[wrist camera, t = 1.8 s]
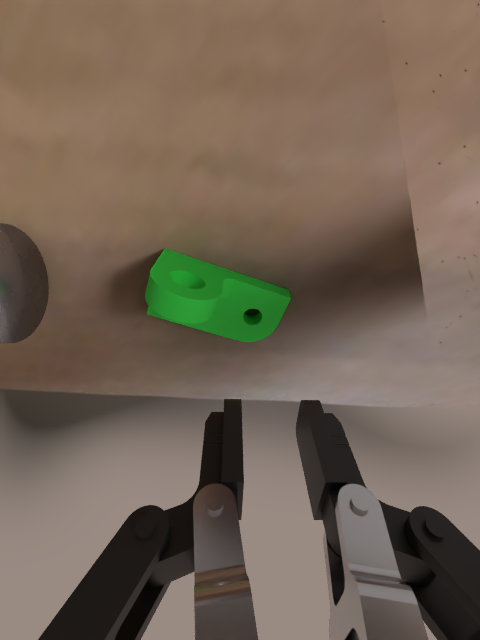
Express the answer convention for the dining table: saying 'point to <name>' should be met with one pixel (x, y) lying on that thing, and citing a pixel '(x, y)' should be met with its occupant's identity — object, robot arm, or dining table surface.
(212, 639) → the robot arm
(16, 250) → the grey mushroom knob
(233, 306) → the mechanical part
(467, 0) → the dining table surface
